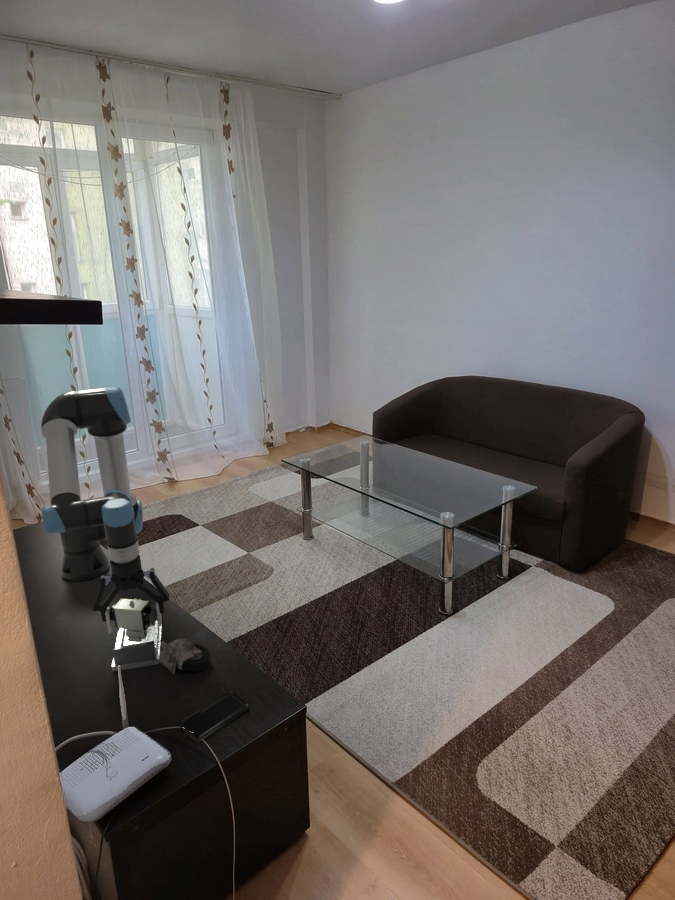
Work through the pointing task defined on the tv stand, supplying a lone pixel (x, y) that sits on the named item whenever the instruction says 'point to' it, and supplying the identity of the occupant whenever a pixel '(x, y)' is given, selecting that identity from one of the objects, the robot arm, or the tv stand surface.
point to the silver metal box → (137, 649)
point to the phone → (214, 716)
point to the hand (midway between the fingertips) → (135, 626)
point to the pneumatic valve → (133, 617)
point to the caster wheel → (183, 655)
